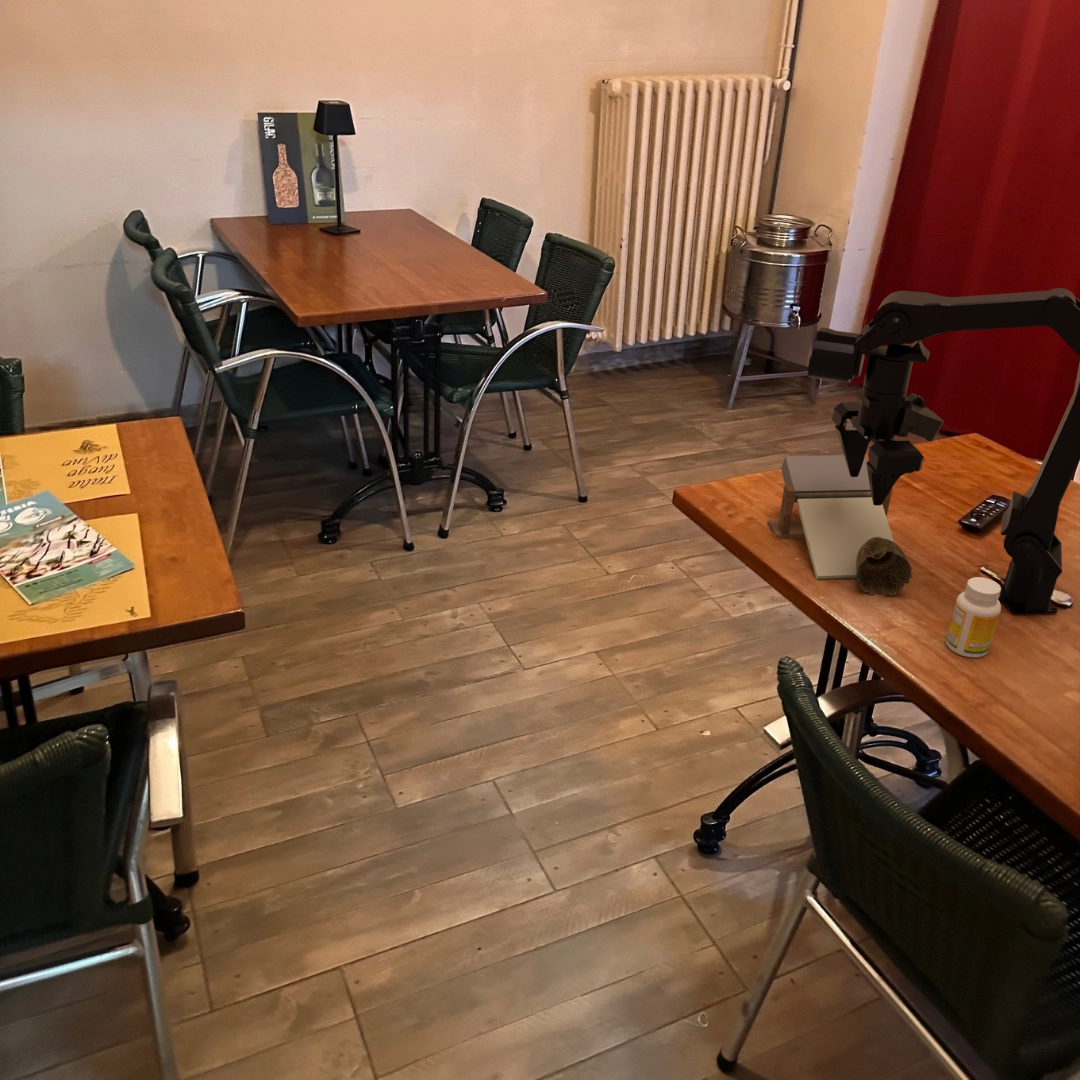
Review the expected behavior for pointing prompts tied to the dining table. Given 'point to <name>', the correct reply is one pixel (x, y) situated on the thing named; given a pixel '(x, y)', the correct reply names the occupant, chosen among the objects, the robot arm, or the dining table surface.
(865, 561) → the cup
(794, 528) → the post frame
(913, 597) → the dining table surface
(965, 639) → the supplement bottle
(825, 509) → the trapdoor
